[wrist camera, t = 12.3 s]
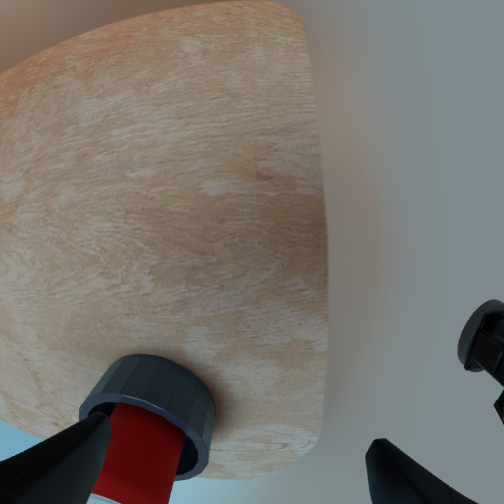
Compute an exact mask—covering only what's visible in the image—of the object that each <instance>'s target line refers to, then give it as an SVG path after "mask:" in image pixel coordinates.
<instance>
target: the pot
mask: <svg viewBox="0 0 504 504" xmlns="http://www.w3.org/2000/svg"><path fill="white" fill-rule="evenodd" d="M118 402H123V403H127V404H131V405H135V406H139V407H142V408H145V409H147V410H149V411H151V412H154V413H156V414H158V415H161V416H162V417H164V418H165V419H167V420H168V421H170V422H171V423H173V424H175V425H176V426H178V427H179V428H180V429H181V430H182V431H183V432H184V433H185V434H186V436H185V439H184V443H183V447H182V451H181V455H180V459H179V463H178V467H177V471H176V475H175V479H174V481H180V480H186V479H190V478H192V477H194V476H196V475H198V474H200V473H202V472H203V470H204V469H205V468H206V466H207V465H208V462H209V456H210V449H211V443H212V437H213V431H214V424H215V415H216V407H215V403H214V400H213V397H212V395H211V393H210V392H209V390H208V389H207V387H206V386H205V385H204V383H203V382H202V381H201V380H200V379H199V378H198V377H196V376H195V375H194V374H193V373H191V372H190V371H189V370H187V369H186V368H184V367H182V366H180V365H179V364H177V363H174V362H172V361H170V360H167V359H164V358H161V357H157V356H152V355H139V354H138V355H130V356H126V357H123V358H120V359H118V360H117V361H115V362H114V363H113V364H112V365H111V366H110V367H109V368H108V370H107V371H106V372H105V373H104V375H103V376H102V377H101V379H100V380H99V381H98V383H97V384H96V385H95V387H94V388H93V390H92V391H91V392H90V394H89V395H88V396H87V398H86V399H85V401H84V402H83V403H82V405H81V406H80V409H79V421H81V420H83V419H85V418H86V417H88V416H90V415H92V414H93V413H96V412H99V413H102V414H105V415H107V416H108V418H110V416H111V414H112V412H113V411H114V409H115V407H116V406H117V404H118Z"/></svg>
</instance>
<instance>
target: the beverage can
mask: <svg viewBox="0 0 504 504" xmlns="http://www.w3.org/2000/svg"><path fill="white" fill-rule="evenodd" d="M109 421H110V425H111V429H112V436H111V440H110V443H109V446H108V449H107V453H106V456H105V459H104V463H103V466H102V469H101V472H100V474H99V476H98V479H97V481H96V483H95V485H94V488H93V490H92V492H91V495H90V497H89V499H88V502H87V504H168V503H169V498H170V494H171V490H172V486H173V482H174V479H175V475H176V471H177V467H178V463H179V459H180V455H181V451H182V447H183V443H184V439H185V436H186V434H185V433H184V432H183V431H182V430H181V429H180V428H179V427H178V426H176V425H175V424H173V423H171V422H170V421H168V420H167V419H165V418H164V417H162V416H161V415H158V414H156V413H154V412H151V411H149V410H147V409H145V408H142V407H139V406H135V405H131V404H127V403H123V402H118V404H117V406H116V407H115V409H114V411H113V412H112V414H111V416H110V418H109Z"/></svg>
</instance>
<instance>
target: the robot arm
mask: <svg viewBox="0 0 504 504" xmlns="http://www.w3.org/2000/svg"><path fill="white" fill-rule="evenodd" d="M464 368H465V370H467V371H468V370H474V369H480V368H483V369H484V370H485V371H487V372H488V373H489V374H490V375H491V376H492V377H493V378H494V379H496V380H497V381H498V382H499V383H500V384H501V385H502V386H503V387H504V312H485V313H484V315H483V317H482V320H481V323H480V326H479V329H478V332H477V334H476V337H475V340H474V342H473V345H472V348H471V350H470V353H469V355H468V357H467V360H466V362H465V364H464ZM494 407H495V409H496V411H497V413H498V414H499V417H500V418H501V420H502V422H503V424H504V390H503V391H502V393H501V395H500V396H499V398H498V400H496V402H495V403H494ZM111 436H112V429H111V425H110V421H109V418H108V416H107V415H105V414H102V413H99V412H96V413H93V414H92V415H90V416H88V417H86V418H85V419H83V420H81V421H79V422H78V423H76V424H74V425H72V426H70V427H69V428H67V429H65V430H63V431H61V432H59V433H57V434H56V435H54V436H52V437H50V438H48V439H46V440H44V441H43V442H40V443H39V444H37V445H35V446H33V447H31V448H29V449H27V450H25V451H23V452H21V453H19V454H17V455H15V456H12V457H10V458H8V459H6V460H3V461H0V504H87V502H88V499H89V497H90V495H91V492H92V490H93V488H94V485H95V483H96V481H97V479H98V476H99V474H100V472H101V469H102V466H103V463H104V459H105V456H106V453H107V449H108V446H109V443H110V440H111ZM365 459H366V467H367V475H368V483H369V491H370V495H371V500H372V503H373V504H478V503H476V502H474V501H472V500H471V499H469V498H467V497H465V496H464V495H462V494H460V493H459V492H457V491H456V490H455V489H453V488H452V487H450V486H449V485H447V484H446V483H444V482H443V481H442V480H440V479H439V478H437V477H436V476H435V475H433V474H432V473H430V472H429V471H428V470H426V469H425V468H424V467H422V466H421V465H420V464H418V463H417V462H416V461H414V460H413V459H412V458H410V457H409V456H408V455H406V454H405V453H404V452H403V451H401V450H400V449H399V448H397V447H396V446H395V445H394V444H392V443H391V442H390V441H388V440H387V439H385V438H381V439H375V440H374V441H373V442H372V444H371V446H370V447H369V449H368V451H367V453H366V456H365Z"/></svg>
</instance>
